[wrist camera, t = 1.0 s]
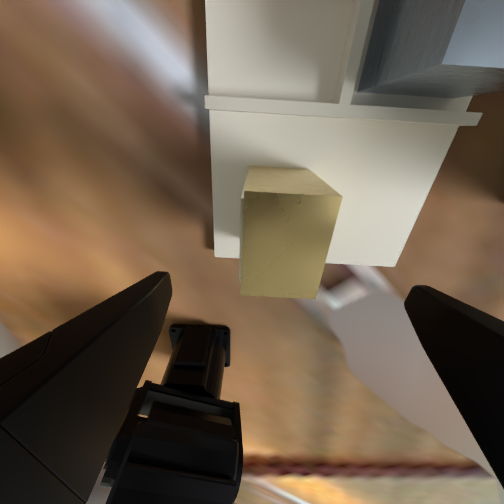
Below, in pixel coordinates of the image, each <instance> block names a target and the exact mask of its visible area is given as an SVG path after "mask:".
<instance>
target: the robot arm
mask: <svg viewBox="0 0 504 504" xmlns="http://www.w3.org/2000/svg"><path fill="white" fill-rule="evenodd" d="M171 297H172V285H171V279H170V274H169V273H168V272H162V271H157V272H155V273H153V274H151V275H149V276H148V277H146V278H144V279H142V280H141V281H139V282H137V283H135V284H133V285H132V286H130V287H128V288H126V289H124V290H123V291H121V292H119V293H117V294H116V295H114V296H112V297H110V298H108V299H107V300H105V301H103V302H101V303H100V304H98V305H96V306H94V307H92V308H91V309H89V310H87V311H85V312H83V313H82V314H80V315H78V316H76V317H75V318H73V319H71V320H69V321H67V322H66V323H64V324H62V325H60V326H58V327H57V328H55V329H53V331H52V332H51V331H50V332H48V333H46V334H44V335H42V336H41V337H39V338H37V339H35V340H33V341H32V342H30V343H28V344H26V345H24V346H22V347H21V348H19V349H17V350H15V351H14V352H11V353H10V354H8V355H6V356H4V357H2V358H0V504H86V502H87V501H88V498H89V496H90V494H91V492H92V489H93V487H94V485H95V482H96V480H97V478H98V475H99V473H100V471H101V469H102V466H103V464H104V462H106V463H105V466H104V469H103V470H104V471H105V473H104V476H103V479H102V481H101V484H100V486H101V487H107V488H109V487H110V488H112V489H111V491H110V494H109V496H108V499H107V502H106V504H233V503H234V501H235V499H236V497H237V494H238V491H239V487H240V482H241V476H242V468H243V445H242V432H241V419H240V406H239V403H237V402H233V403H232V402H228V401H224V400H220V394H221V387H222V379H223V372H224V367H229V366H230V329H229V328H228V327H215V326H195V325H176V324H173V325H171V326H170V328H169V333H170V338H171V343H172V348H173V352H172V355H171V357H170V360H169V363H168V366H167V368H166V371H165V374H164V376H163V379H162V382H161V384H160V385H159V384H155V383H152V381H148V380H146V381H145V383H144V385H143V387H141V388H137V386H138V384H139V381H140V379H141V377H142V374H143V372H144V370H145V367H146V365H147V363H148V361H149V358H150V356H151V354H152V351H153V349H154V347H155V345H156V342H157V340H158V337H159V335H160V332H161V329H162V326H163V323H164V320H165V316H166V313H167V310H168V307H169V303H170V300H171ZM404 307H405V310H406V312H407V314H408V316H409V318H410V321H411V323H412V325H413V327H414V329H415V332H416V334H417V336H418V338H419V340H420V342H421V344H422V347H423V348H424V350H425V352H426V354H427V356H428V357H429V359H430V361H431V363H432V364H433V366H434V368H435V370H436V371H437V373H438V375H439V377H440V378H441V380H442V382H443V384H444V385H445V387H446V389H447V390H448V392H449V394H450V396H451V398H452V399H453V401H454V403H455V405H456V406H457V408H458V410H459V412H460V413H461V415H462V417H463V419H464V420H465V422H466V424H467V426H468V427H469V429H470V431H471V433H472V434H473V436H474V438H475V440H476V441H477V443H478V445H479V446H480V448H481V450H482V452H483V454H484V455H485V457H486V459H487V461H488V462H489V464H490V466H491V468H492V469H493V471H494V473H495V475H496V476H497V478H498V480H499V482H500V483H501V485H502V487H503V489H504V321H502V320H500V319H498V318H495V317H493V316H491V315H489V314H487V313H485V312H483V311H481V310H478V309H476V308H474V307H472V306H470V305H468V304H466V303H464V302H461V301H459V300H457V299H455V298H453V297H451V296H449V295H447V294H444V293H442V292H440V291H438V290H436V289H434V288H432V287H430V286H426V285H415V286H413V287H412V288H411V290H410V292H409V294H408V296H407V298H406V300H405V302H404ZM139 414H141V415H146V416H148V417H147V418H144V417H140V416H139Z"/></svg>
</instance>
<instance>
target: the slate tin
mask: <svg viewBox="0 0 504 504" xmlns="http://www.w3.org/2000/svg"><path fill="white" fill-rule="evenodd" d="M502 91H504V0H379V4H378V8H377V12H376V16H375V20H374V25H373V29H372V33H371V37H370V41H369V45H368V50H367V54H366V58H365V62H364V66H363V71H362V75H361V79H360V83H359V87H358V91H357V92H362V93H378V94H393V95H409V96H425V97H440V98H459V97H466V96H473V95H480V94H488V93H495V92H502Z"/></svg>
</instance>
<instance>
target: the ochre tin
mask: <svg viewBox="0 0 504 504" xmlns="http://www.w3.org/2000/svg"><path fill="white" fill-rule="evenodd" d="M342 198H343V196H341V195H340V194H339V193H338V192H336V191H335V190H334V189H333V188H332V187H330V186H329V185H328V184H327V183H325V182H324V181H323V180H322V179H321V178H319V177H318V176H317V175H316V174H315V173H313V172H312V171H311V170H310V169H298V168H282V167H265V166H249V168H248V174H247V175H246V177H245V182H244V187H243V191H242V196H241V216H240V251H239V282H241V295H248V296H266V297H285V298H304V299H316V296H317V292H318V288H319V285H320V281H321V277H322V273H323V270H324V266H325V262H326V258H327V254H328V251H329V247H330V243H331V239H332V235H333V232H334V228H335V224H336V220H337V217H338V213H339V209H340V205H341V201H342Z"/></svg>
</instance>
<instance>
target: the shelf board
mask: <svg viewBox="0 0 504 504" xmlns="http://www.w3.org/2000/svg"><path fill="white" fill-rule="evenodd" d="M378 4H379V0H205V10H206V37H207V64H208V90H209V96H207V95H205V109H207V110H209V117H210V143H211V170H212V197H213V223H214V250H215V257H225V258H239V251H240V216H241V196H242V191H243V187H244V182H245V177H246V175H247V174H248V168H249V166H265V167H282V168H298V169H310V170H311V171H312V172H313V173H315V174H316V175H317V176H318V177H319V178H321V179H322V180H323V181H324V182H325V183H327V184H328V185H329V186H330V187H332V188H333V189H334V190H335V191H336V192H338V193H339V194H340V195H341V196H343V198H342V201H341V205H340V209H339V213H338V217H337V220H336V224H335V228H334V232H333V235H332V239H331V243H330V247H329V251H328V254H327V258H326V262H325V263H335V264H353V265H371V266H389V267H395V265H396V263H397V260H398V258H399V256H400V254H401V252H402V250H403V247H404V245H405V243H406V241H407V239H408V236H409V234H410V232H411V230H412V228H413V226H414V223H415V221H416V219H417V217H418V215H419V212H420V210H421V208H422V206H423V204H424V202H425V199H426V197H427V195H428V193H429V191H430V188H431V186H432V184H433V182H434V180H435V178H436V175H437V173H438V171H439V169H440V167H441V164H442V162H443V160H444V158H445V156H446V154H447V151H448V149H449V147H450V145H451V143H452V140H453V138H454V136H455V134H456V132H457V130H458V127H459V126H477V124H478V122H479V120H480V118H481V116H482V114H483V113H476V112H466V110H467V108H468V106H469V103H470V101H471V99H472V97H473V96H466V97H459V98H440V97H425V96H409V95H393V94H378V93H362V92H357V91H358V87H359V83H360V79H361V75H362V71H363V66H364V62H365V58H366V54H367V50H368V45H369V41H370V37H371V33H372V29H373V25H374V20H375V16H376V12H377V8H378Z"/></svg>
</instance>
